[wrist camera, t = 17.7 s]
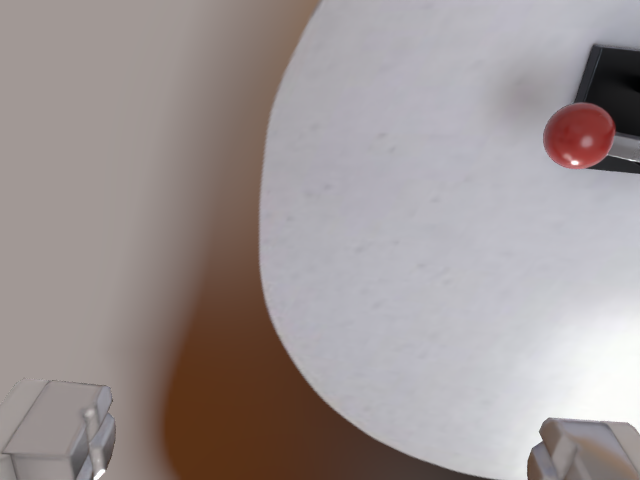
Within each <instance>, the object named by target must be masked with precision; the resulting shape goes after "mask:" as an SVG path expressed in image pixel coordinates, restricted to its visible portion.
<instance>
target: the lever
mask: <svg viewBox="0 0 640 480" xmlns="http://www.w3.org/2000/svg"><path fill="white" fill-rule="evenodd" d="M543 143H544V147H545V150H546V152H547V154H548V155H549V157H550V158H551V159H552V160H553V161H554V162H555V163H557V164H559V165H561V166H563V167H566V168H570V169H583V168H588V167H591V166H593V165H595V164H597V163H599V162H600V161H602V160H603V159H604V158H605V157H606V156H607V155H610V156H614V157H618V158H623V159H627V160H632V161H636V162H640V137H639V136H634V135H629V134H625V133H620V132H616V126H615V123H614V120H613V118H612V117H611V115H610V114H609V113H608V112H607V111H606V110H605V109H604V108H602V107H600V106H598V105H596V104H593V103H587V102H578V103H573V104H570V105H567V106H565V107H563V108H561V109H560V110H558V111H557V112H556V113H555V114H554V115H553V116H552V117H551V118H550V119H549V121H548V123H547V124H546V127H545V130H544V134H543Z"/></svg>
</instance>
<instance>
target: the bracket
mask: <svg viewBox="0 0 640 480" xmlns="http://www.w3.org/2000/svg"><path fill="white" fill-rule="evenodd" d="M578 102H587V103H593V104H596V105H598V106H600V107H602V108H604V109H605V110H606V111H607V112H608V113H609V114H610V115H611V117H612V118H613V120H614V123H615V126H616V132H620V133H625V134H629V135H634V136H639V137H640V50H639V49H630V48H621V47H612V46H602V45H593V48H592V51H591V54H590V57H589V60H588V63H587V66H586V69H585V72H584V75H583V78H582V81H581V84H580V87H579V90H578V93H577V96H576V99H575V102H574V103H578ZM586 169H596V170H606V171H617V172H627V173H637V174H640V162H636V161H632V160H627V159H623V158H618V157H614V156H610V155H607V156H606V157H605V158H604V159H603V160H602V161H600V162H599V163H597V164H595V165H593V166H591V167H588V168H586Z"/></svg>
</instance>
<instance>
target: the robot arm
mask: <svg viewBox="0 0 640 480" xmlns="http://www.w3.org/2000/svg"><path fill="white" fill-rule="evenodd" d="M112 402H113V400H112V393H111V388H110V387H108V386H106V385H96V384H86V383H76V382H66V381H55V380H52V381H49V380H40V379H28V378H23V379H22V380H20V381H19V382H17V383H16V384H15V385H14V386H13V388H12V389H11V391H10V392H9V393H8V395H7V396H6V397H5V399H4V400H3V402H2V403H1V404H0V480H96V479H97V478H98V477H99V476H101V475H102V474H103V473H105V472H106V469H107V467H108V464H109V462H110V459H111V456H112V452H113V448H114V443H115V434H116V426H115V419H114V418H113V417H112V416H111V415H110V414H109V413H108V410H109V408H110V406H111V404H112ZM539 433H540V435H541V437H542V440H543V441H542V442H541V443H539V444H538V445H536V446H535V447H533V448H532V450H531V453H530V456H529V458H528V464H527V477H528V480H640V435H639V433H638V432H637V430H636V429H635V428H634V427H633V426H632V425H630V424H629V423H625V422H610V421H600V422H599V421H594V420H578V419H562V418H548V419H547V420H545V421H544V422H543V424H542V426H541V429H540V431H539Z"/></svg>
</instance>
